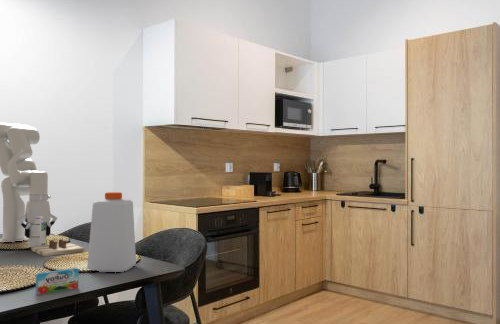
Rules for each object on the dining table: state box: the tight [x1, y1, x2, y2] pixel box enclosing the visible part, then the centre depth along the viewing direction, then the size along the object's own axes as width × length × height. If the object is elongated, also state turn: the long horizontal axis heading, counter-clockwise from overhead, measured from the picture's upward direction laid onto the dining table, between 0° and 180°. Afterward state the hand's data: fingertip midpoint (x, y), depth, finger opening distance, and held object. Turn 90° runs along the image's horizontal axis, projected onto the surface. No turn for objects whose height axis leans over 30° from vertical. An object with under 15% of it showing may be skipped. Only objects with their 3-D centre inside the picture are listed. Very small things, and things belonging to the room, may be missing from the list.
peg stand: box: [30, 238, 85, 257], centre depth 196 cm, size 17×17×4 cm
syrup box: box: [28, 216, 48, 248], centre depth 205 cm, size 6×6×14 cm
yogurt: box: [35, 267, 80, 296], centre depth 134 cm, size 12×2×6 cm, turn 132°
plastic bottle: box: [86, 191, 137, 274], centre depth 165 cm, size 15×15×28 cm
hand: (37, 236), depth 205 cm, fingers closed on syrup box, 8 cm apart
